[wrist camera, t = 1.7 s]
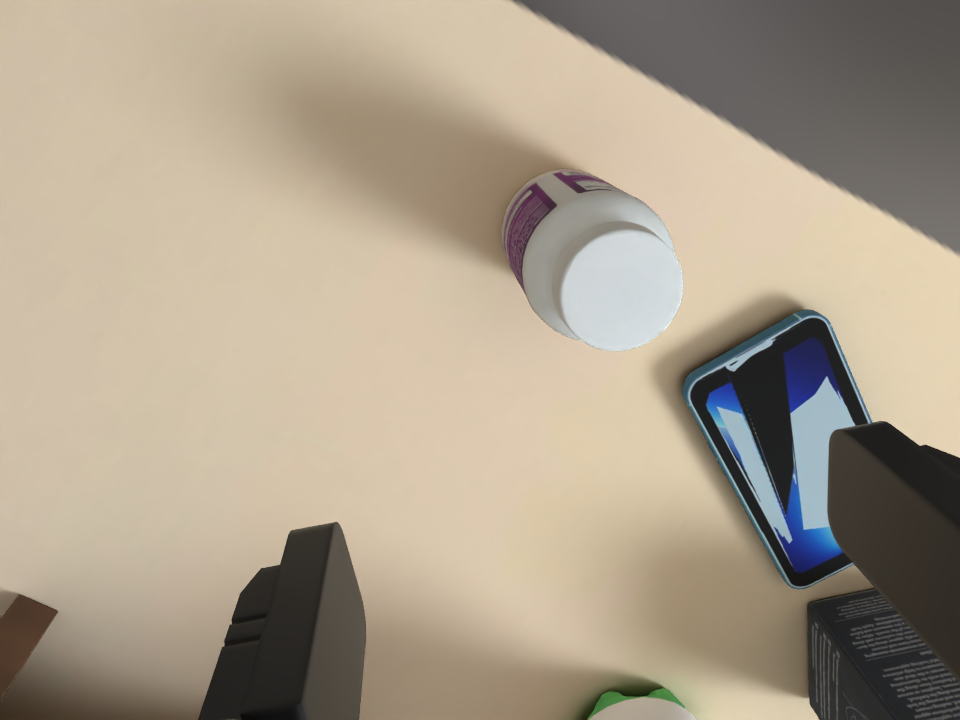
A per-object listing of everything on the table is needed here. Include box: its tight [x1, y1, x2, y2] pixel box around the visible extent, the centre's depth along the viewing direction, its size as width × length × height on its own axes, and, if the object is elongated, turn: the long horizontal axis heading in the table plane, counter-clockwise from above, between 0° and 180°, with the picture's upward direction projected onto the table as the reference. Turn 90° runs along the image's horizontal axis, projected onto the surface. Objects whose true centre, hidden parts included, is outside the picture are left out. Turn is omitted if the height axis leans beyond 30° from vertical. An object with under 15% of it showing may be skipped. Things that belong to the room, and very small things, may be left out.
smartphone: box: [682, 310, 872, 589], centre depth 36 cm, size 7×1×15 cm
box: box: [808, 589, 960, 720], centre depth 37 cm, size 8×6×11 cm
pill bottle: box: [502, 169, 683, 351], centre depth 27 cm, size 5×5×10 cm
